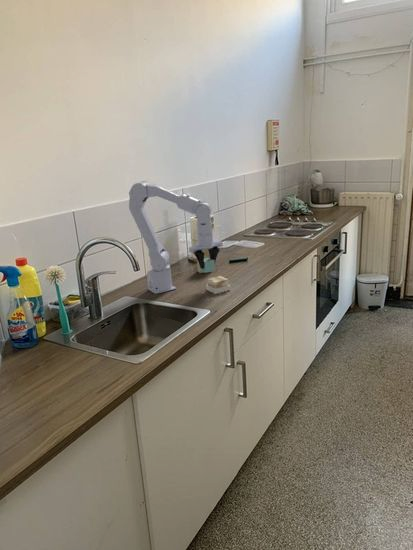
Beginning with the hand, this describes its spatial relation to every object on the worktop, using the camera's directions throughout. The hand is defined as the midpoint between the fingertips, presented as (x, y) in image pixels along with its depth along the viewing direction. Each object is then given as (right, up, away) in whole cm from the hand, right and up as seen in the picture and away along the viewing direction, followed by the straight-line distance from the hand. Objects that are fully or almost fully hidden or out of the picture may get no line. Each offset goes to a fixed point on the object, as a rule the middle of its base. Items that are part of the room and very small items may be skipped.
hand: (207, 266), depth 167 cm
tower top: (+4, -7, -1) cm, 8 cm away
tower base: (+4, -10, 0) cm, 11 cm away
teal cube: (0, -1, +1) cm, 2 cm away
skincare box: (-1, -2, +26) cm, 26 cm away
